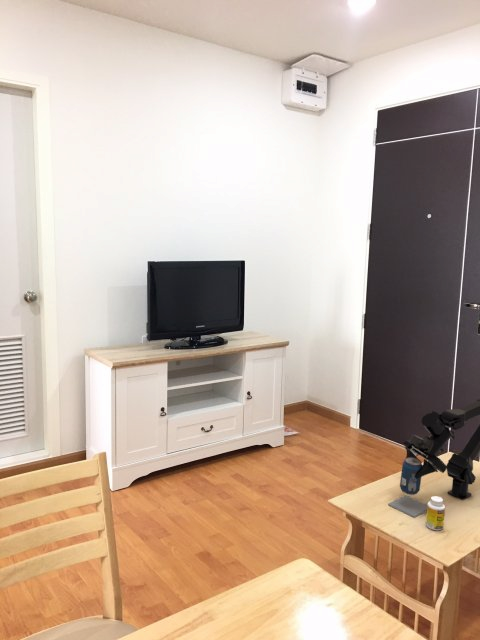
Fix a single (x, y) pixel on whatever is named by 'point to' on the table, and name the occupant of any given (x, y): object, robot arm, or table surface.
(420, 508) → the coaster
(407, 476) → the soda can
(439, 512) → the supplement bottle
